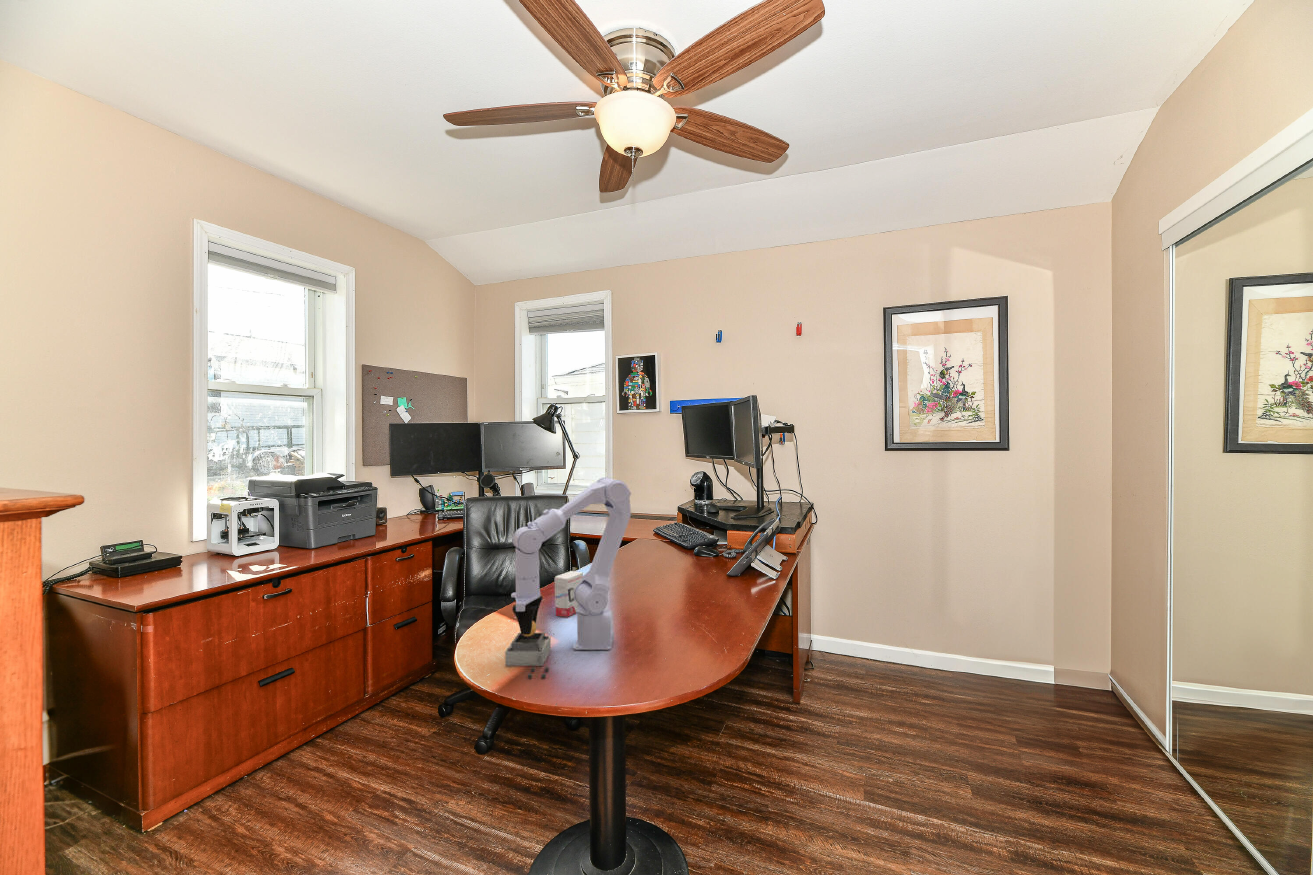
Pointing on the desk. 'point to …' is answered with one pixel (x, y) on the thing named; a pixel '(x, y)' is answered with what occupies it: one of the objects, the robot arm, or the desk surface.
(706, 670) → the desk surface
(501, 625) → the desk surface
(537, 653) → the silver open square box
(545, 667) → the cradle
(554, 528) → the robot arm
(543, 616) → the desk surface
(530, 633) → the ball
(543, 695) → the desk surface
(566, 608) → the ink box
